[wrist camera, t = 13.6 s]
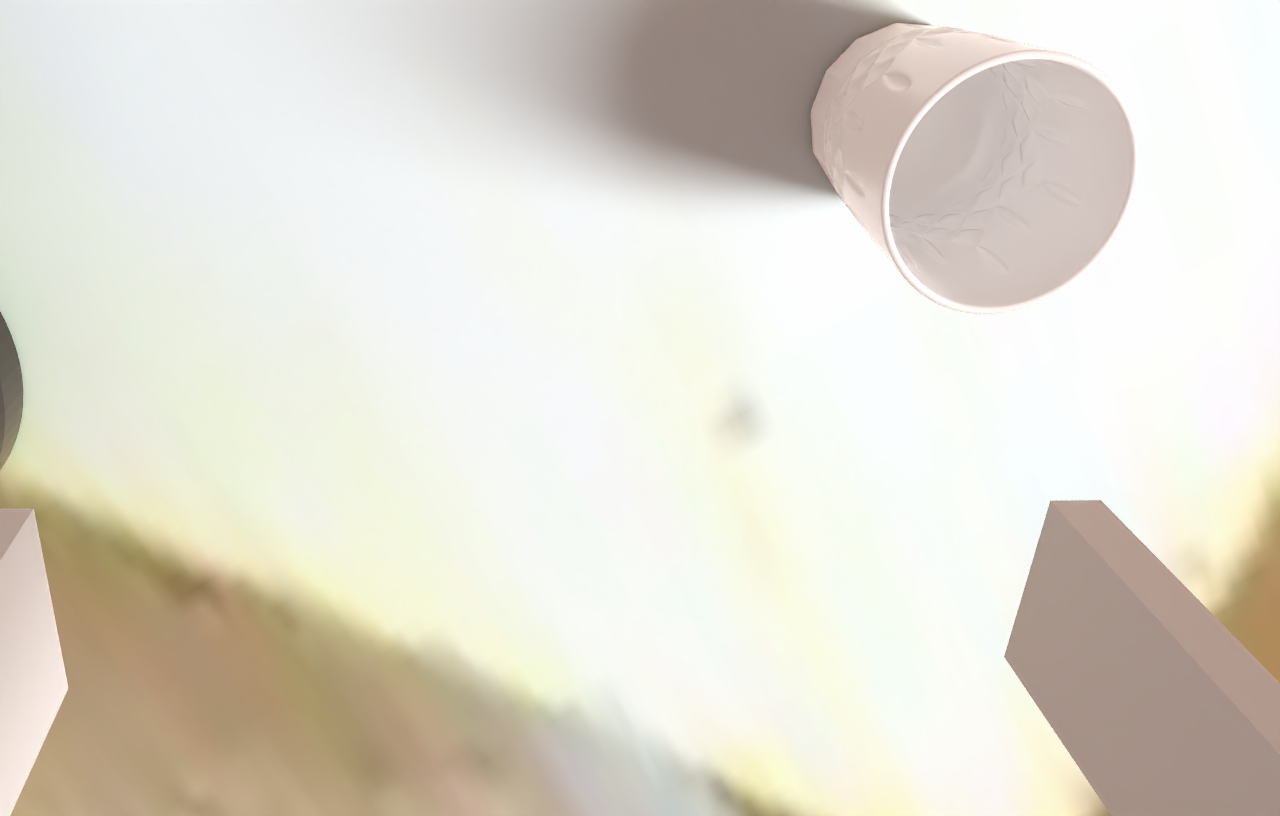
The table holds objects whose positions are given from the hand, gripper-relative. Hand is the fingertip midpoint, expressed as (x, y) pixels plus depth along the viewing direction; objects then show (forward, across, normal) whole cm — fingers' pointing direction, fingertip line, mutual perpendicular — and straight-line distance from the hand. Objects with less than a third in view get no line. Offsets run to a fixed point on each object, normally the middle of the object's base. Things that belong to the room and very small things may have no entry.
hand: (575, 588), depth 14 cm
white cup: (+28, +15, +1) cm, 32 cm away
